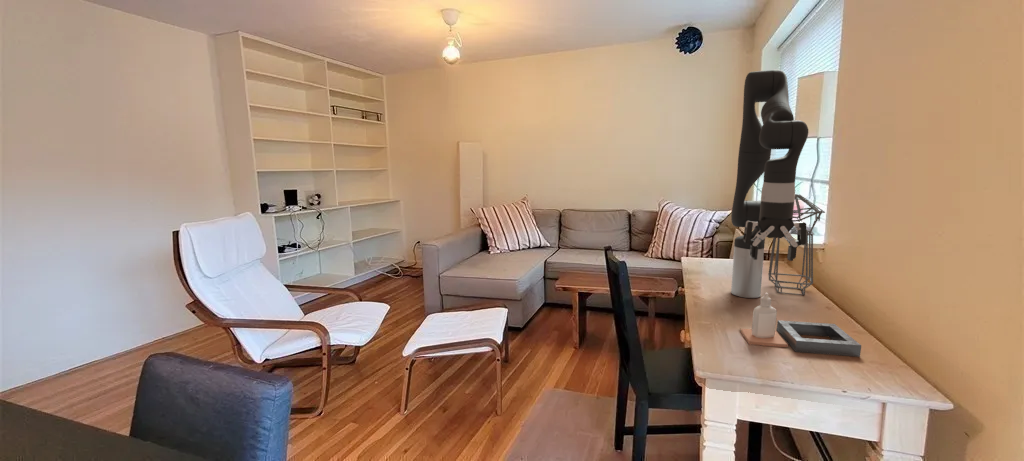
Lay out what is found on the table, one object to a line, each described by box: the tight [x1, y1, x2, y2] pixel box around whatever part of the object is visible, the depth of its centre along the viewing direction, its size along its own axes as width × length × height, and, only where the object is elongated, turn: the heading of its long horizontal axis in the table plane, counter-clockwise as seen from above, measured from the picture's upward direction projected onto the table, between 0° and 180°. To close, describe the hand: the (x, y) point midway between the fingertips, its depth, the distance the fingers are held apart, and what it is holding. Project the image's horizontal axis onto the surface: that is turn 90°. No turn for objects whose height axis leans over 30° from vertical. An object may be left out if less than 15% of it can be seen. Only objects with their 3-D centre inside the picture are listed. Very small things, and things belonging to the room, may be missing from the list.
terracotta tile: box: [739, 328, 789, 348], centre depth 118 cm, size 9×9×1 cm
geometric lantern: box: [768, 193, 826, 296], centre depth 156 cm, size 16×16×35 cm
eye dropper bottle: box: [751, 292, 777, 338], centre depth 117 cm, size 4×6×12 cm
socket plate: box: [776, 319, 862, 358], centre depth 115 cm, size 14×14×3 cm
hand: (772, 259), depth 118 cm, fingers open, 8 cm apart
